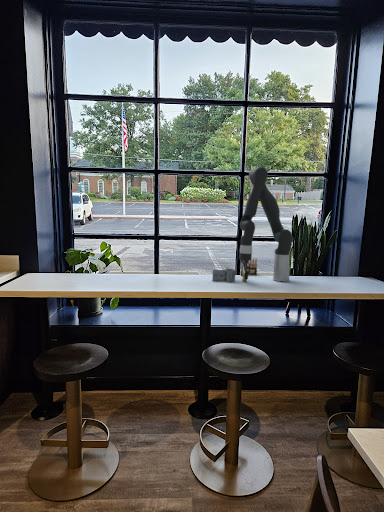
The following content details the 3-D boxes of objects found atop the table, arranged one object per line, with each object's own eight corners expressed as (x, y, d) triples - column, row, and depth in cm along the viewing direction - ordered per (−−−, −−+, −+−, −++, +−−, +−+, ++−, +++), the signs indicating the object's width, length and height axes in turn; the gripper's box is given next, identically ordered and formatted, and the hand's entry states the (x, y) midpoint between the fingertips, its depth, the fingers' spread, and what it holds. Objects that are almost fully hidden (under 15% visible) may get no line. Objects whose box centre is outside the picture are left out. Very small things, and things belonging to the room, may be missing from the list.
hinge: (230, 277, 232) (231, 266, 231) (236, 281, 218) (236, 270, 217) (209, 277, 231) (210, 266, 230) (213, 281, 217) (213, 270, 216)
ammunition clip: (256, 274, 243) (257, 257, 241) (256, 275, 241) (257, 258, 239) (241, 274, 243) (241, 257, 241) (241, 274, 241) (242, 257, 239)
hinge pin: (246, 281, 221) (246, 267, 220) (247, 282, 218) (248, 268, 217) (241, 281, 221) (242, 267, 219) (242, 282, 218) (243, 268, 216)
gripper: (254, 254, 210) (253, 280, 212) (248, 250, 224) (247, 275, 226) (242, 253, 209) (241, 280, 211) (237, 250, 223) (235, 275, 225)
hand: (244, 277), depth 219 cm, fingers open, 8 cm apart
